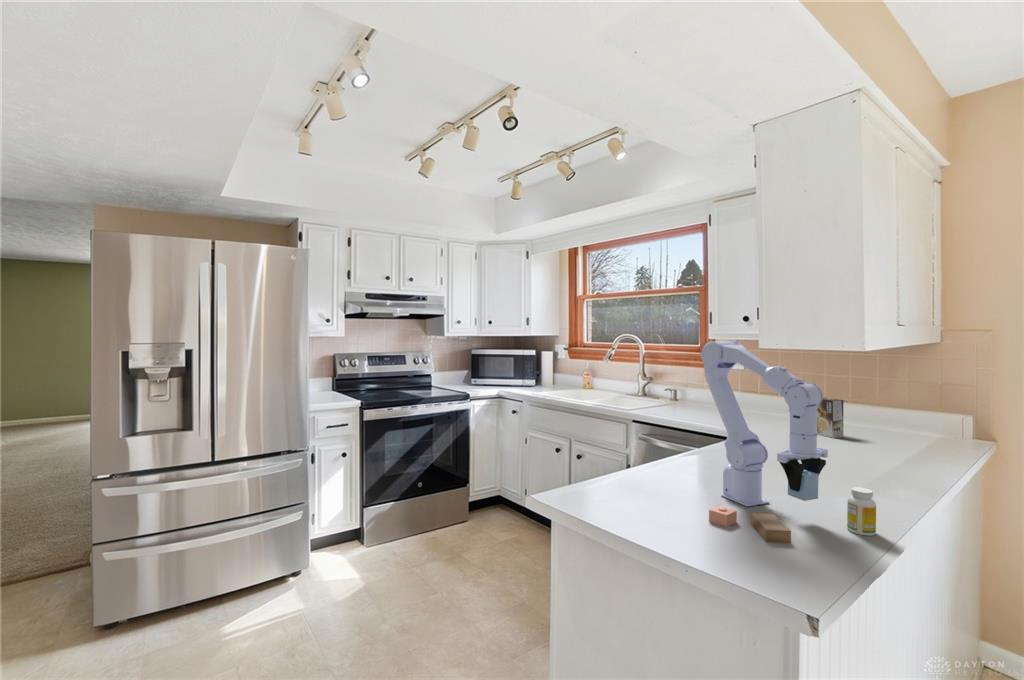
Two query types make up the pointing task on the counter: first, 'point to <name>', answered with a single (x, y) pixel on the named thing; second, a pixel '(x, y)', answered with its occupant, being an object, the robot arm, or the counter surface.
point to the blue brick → (806, 487)
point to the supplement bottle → (861, 512)
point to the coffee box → (830, 418)
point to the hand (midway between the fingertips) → (802, 488)
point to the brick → (722, 516)
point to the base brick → (770, 528)
